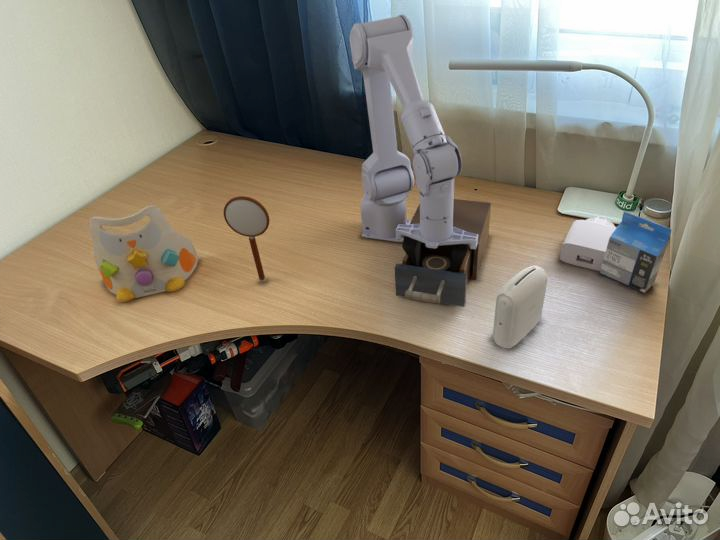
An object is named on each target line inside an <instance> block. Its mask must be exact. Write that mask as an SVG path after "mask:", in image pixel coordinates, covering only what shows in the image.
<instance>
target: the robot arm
mask: <svg viewBox="0 0 720 540" xmlns="http://www.w3.org/2000/svg"><path fill="white" fill-rule="evenodd" d="M412 25H413V24H412V23H411V21H410V19H409V18H408V17H407V16H406V15H405V14H399V15H397V16H392V17H388V18H387V17H386V18H382V19H378V20H372V21H367V22H361V23H359V22H356V23H354V24H353V26H352V28H351V30H350V34H349V45H350V53H351V61H352V64H353V68H354V70H357V71H361V72H362V77H363V78H362V79H363V84H364V91H365V98H366V106H367V107H366V108H367V115H368V121H369V130H370V139H371V145H372V153H371V154H370V155H369V156H368V157H367V158H366V159H365V161H364V162H363V163H362V164H361V186H362V191H363V196H362V199H361V203H360V217H361V229H362V233H361V237H362V238H365V239H372V240H379V241H385V242H386V241H387V242H395V243H400V244H401V243H402V244H401V249H402V250H403V251H404V253H405V252H406V254H407V255H408V257H409V258H410V260H411V262H412V265H413V266H416V267H421V252H420V249H421V242H423V243H426V247H428V248H437V247H438V246H439V245H453V244H455V245H454V248H453V251H452V254H451V255H452V272H456V273H457V271H458V267H459V265H460V263H461V262H462V260H463V259H464V258H465V256H466V254H467V251H468V248H469V246H470V249H476V247H477V244H478V234H473V233H469V232H466V231H464V230H461V229H458V228H455V227H453V205H454V199H455V178H456V177H459V176H460V175H461V173H462V170H463V159H462V154H461V151H460V149H459V146H458V145H457V144H456V142H454V141H453V140H452V138H451V137H450V135H446V134H445V131H444V128H443V127H442V124H441V122H440V119H439V117H438V115H437V111H436V109H435V106H434V105H433V103H431V102H429V101H427V100H425V99H424V96H423V93H422V90H421V86H420V83H419V80H418V76H417V73H416V69H415V66H414V61H413V59H412V56H413V52H414V43H415V41H414V39H415V38H414V37H415V36H414V30H413V29H414V28H413V26H412ZM392 88H393V91H394V92H395V95H396V96H397V98H398V100H399V103H400V104H401V107H402V108H403V111H402V114H401V116H400V121H401V124H402V126H403V129H404V132H405V134H406V137H407V140H408V142H409V145H410V147H411V150H412V152H413V158H412V164H411V160H410V158H409V157H408V156H407V155H406V154H405V153H403V152H401V151H399V150H398V143H397V131H396V123H395V114H394V104H393V96H392ZM412 168H413V169H412ZM415 185H416V188H417V189H418V191H419V204H420V224H410V222H411V220H407V198H408V197H409V193H410V192H411V191H412V190H413V189H414V186H415Z"/></svg>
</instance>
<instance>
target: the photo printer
mask: <svg viewBox="0 0 720 540" xmlns="http://www.w3.org/2000/svg"><path fill="white" fill-rule="evenodd" d="M548 279H549V277H548V274H547V271H546V270H545V269H544V267H540V266H538V265H537V264H533V265H530V266H527V267H525V268H523V269H521V270H520V271H518V272H517V273H516V274H515V275H513V276H512V277H511V278H510V279H509V280H508V281H507V282H506V283H505V284H504V285H503V286H502V288H501V289H500V290H499V291H498V294H497V295H496V298H495V307H494V308H495V309H494V319H493V328H492V339H493V340H494V342H495V344H496V345H498V346H499V347H501V348H504V349H511V348H513V347H515V346H516V345H517V344H519V342H520V341H522V340H523V339H524V338H525V337H526V336H527V335H528V334H529V333H530V332H531V331H532V330H533V329H534V328H535V327H536V326H537V325H538V324H539V322H540V320H541V318H542V314H543V309H544V303H545V299H546V291H547V285H548Z"/></svg>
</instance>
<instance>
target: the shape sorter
mask: <svg viewBox="0 0 720 540" xmlns="http://www.w3.org/2000/svg"><path fill="white" fill-rule="evenodd" d="M145 217H149V220H148V222H147V223H146V224H145V225H143V226H142V227H141V228H139V229H137V230H134V231H132V232H127V233H117V232H112V231H109V230H106V229H105V228H104V227H102V226H107V227H124V226H125V227H126V226H129V225H132V224H135V223H137V222H139V221H141V220H143V219H144V218H145ZM88 227H89V231H90V237H91V241H92V246H93V259H94V261H95V264H96V266H97V269H98V272H99V274H100V275H101V277H102V280H103V283H104V285H105V287H106V288H107V290H108V291H109V292H110V293H112V294H113V295H115V299H116V301H117V302H119V303H124V302H125V303H126V302H128V301H131V300H134V299H138V298H142V297H147V296H151V295H156V294H160V293H164V292H175V291H178V290H181V289H182V288H183V287H184V286H185V284H186V283H185V281H187V280H188V278H190V276H192V274H193V273H194V271H195V269H196V268H197V265H198V262H199V256H198V253H197V251H196V248H195V246H194V244H193V242H192V240H191V239H190V238H189V237H187V236H185V235H182V234H180V233H179V232H178V231H176V230H175V228H174V227H173V226H172V225H171V223H170V222H169V220H168V219H167V216H166V215H165V214H164V213H163V211H162V210H161V209H159V208H158V207H157V206H155V205H152V204H150V205H149V204H148V205H146V206H145V207H143V208H142V209H141V210H139V211H138V212H136V213H134V214H132V215H127V216H124V217H118V218H117V217H116V218H110V217H109V218H108V217H104V216H103V217H102V216H92V217H90V219H89V226H88Z"/></svg>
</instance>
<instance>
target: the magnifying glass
mask: <svg viewBox="0 0 720 540" xmlns="http://www.w3.org/2000/svg"><path fill="white" fill-rule="evenodd" d="M223 218H224V221H225V223H226V224H227V225H228V227H229V228H230V229H231V230H232V231H233V232H235V233H236V234H238V235H241V236H243V237H246V238H247V237H248V241H249V245H250V249H251V253H252V258H253V260H254V265H255V269H256V272H257V276H258V279H259V281H260V282H261V283H264V282H265V281H266V280H265V279H266V276H265V272H264V268H263V264H262V260H261V256H260V252H259V248H258V244H257V239H256V237H260V236H262V235H263V234H264V233H266V231H267V230H268V228H269V225H270V216H269V212H268V211H267V209H266V207H265V206H264V205H263V204H262V203H261V202H259V201H258V200H256V198H255V199H254V198H252V197H249V196H245V195H244V196H235V197H233V198H231V199H229V200H227V202H226V203H225V205H224V207H223Z"/></svg>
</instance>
